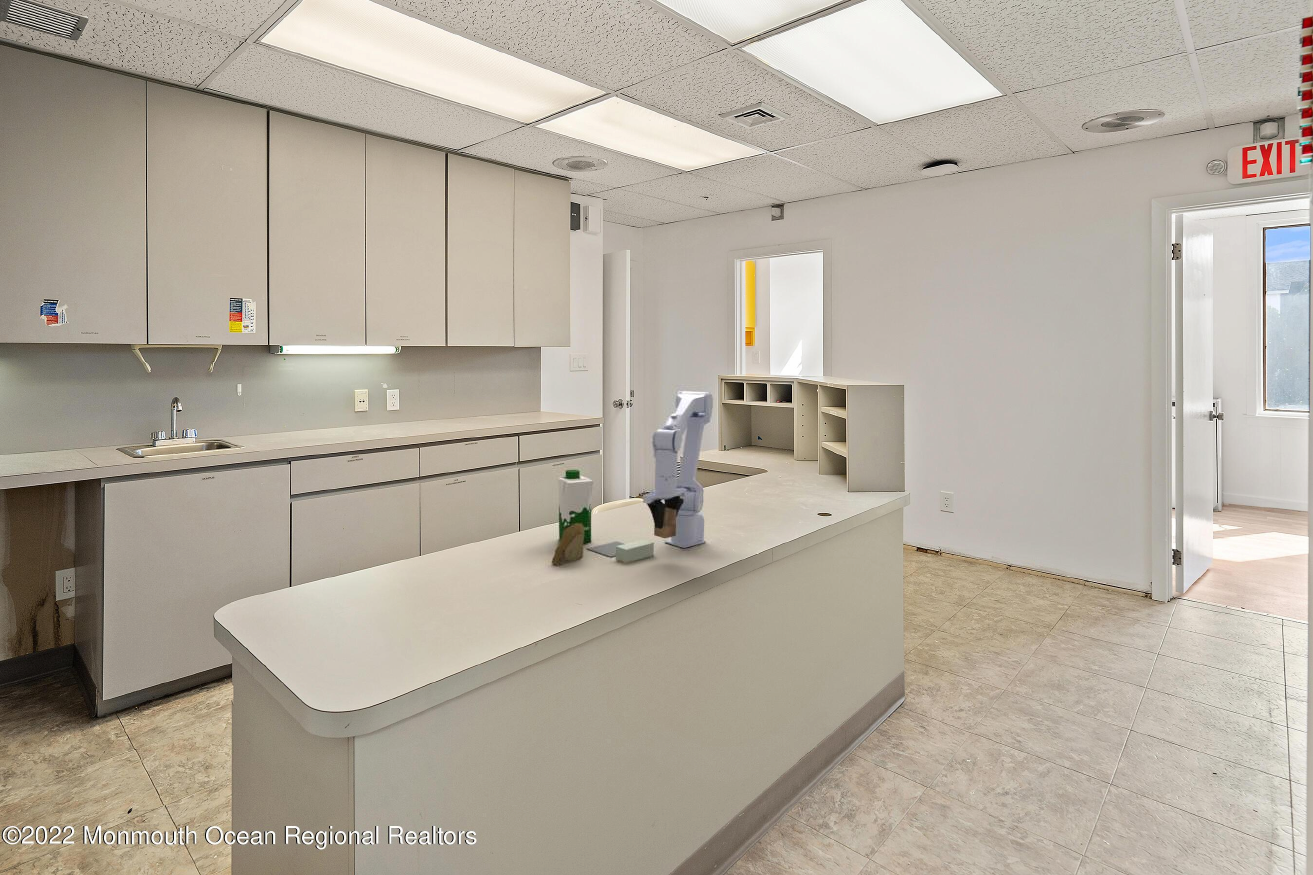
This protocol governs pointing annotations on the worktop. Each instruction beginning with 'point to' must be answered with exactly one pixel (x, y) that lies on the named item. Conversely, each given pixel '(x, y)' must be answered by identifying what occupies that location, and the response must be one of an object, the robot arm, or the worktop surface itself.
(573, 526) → the rock
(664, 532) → the walnut block
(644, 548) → the pale green rectangular block
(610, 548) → the mat
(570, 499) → the milk carton
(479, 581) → the worktop surface
